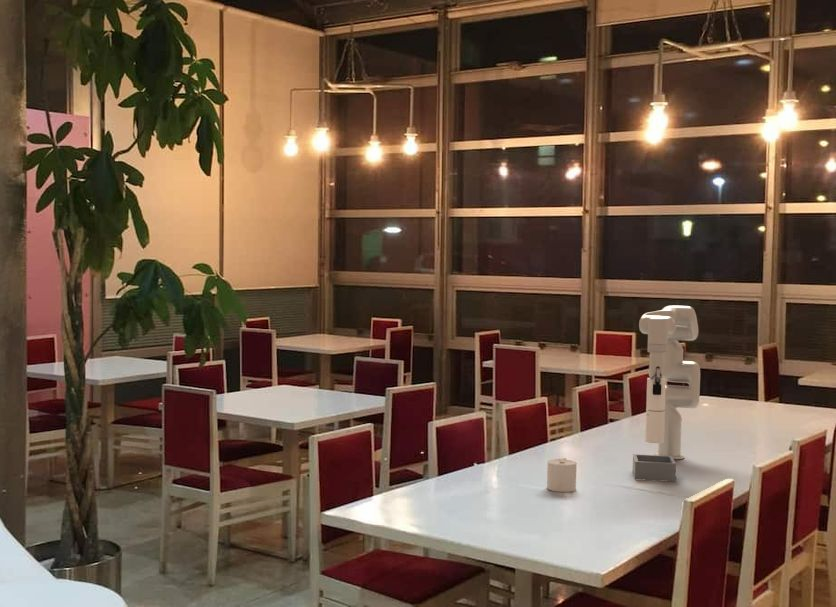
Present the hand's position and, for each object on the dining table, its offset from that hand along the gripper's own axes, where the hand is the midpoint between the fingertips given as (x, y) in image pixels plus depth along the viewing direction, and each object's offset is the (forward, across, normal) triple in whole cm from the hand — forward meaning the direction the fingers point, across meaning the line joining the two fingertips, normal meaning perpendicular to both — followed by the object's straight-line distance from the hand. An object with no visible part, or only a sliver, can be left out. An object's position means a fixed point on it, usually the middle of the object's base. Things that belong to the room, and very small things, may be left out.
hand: (656, 393), depth 376 cm
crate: (+33, 0, 0) cm, 33 cm away
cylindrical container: (+19, 0, 0) cm, 19 cm away
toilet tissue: (+33, +30, -36) cm, 58 cm away
